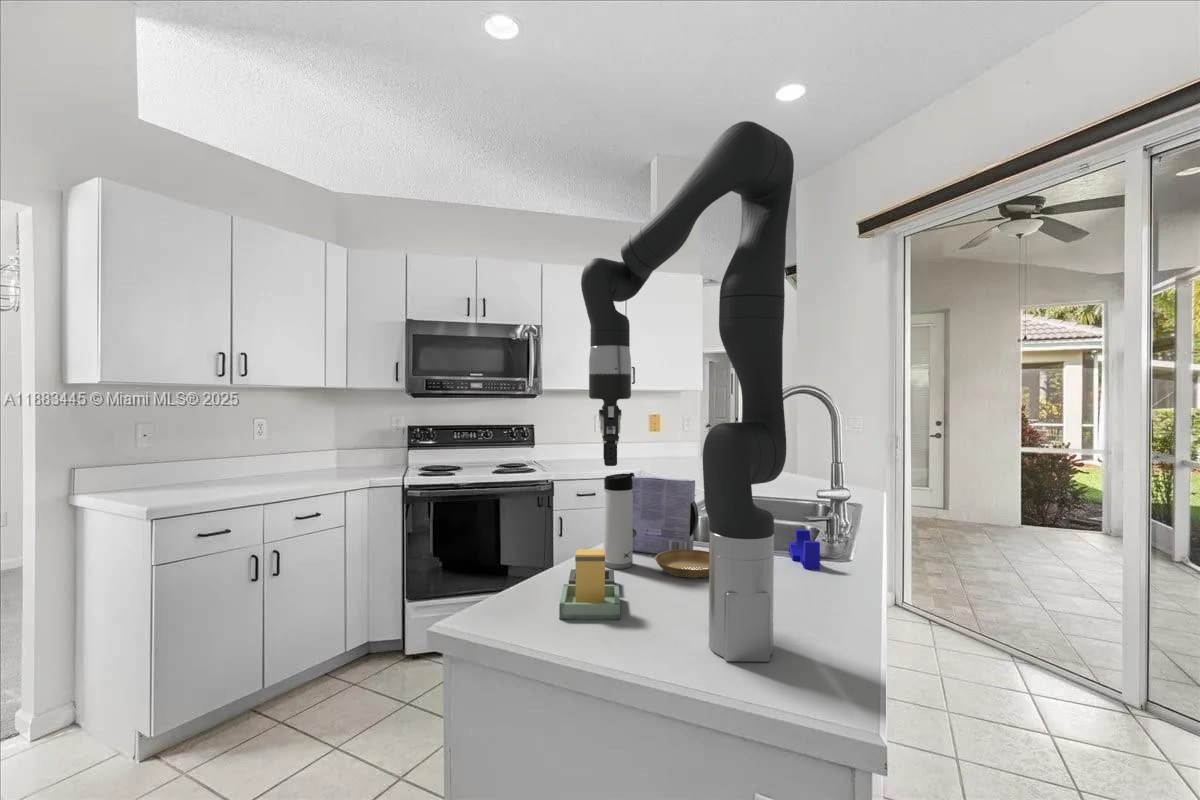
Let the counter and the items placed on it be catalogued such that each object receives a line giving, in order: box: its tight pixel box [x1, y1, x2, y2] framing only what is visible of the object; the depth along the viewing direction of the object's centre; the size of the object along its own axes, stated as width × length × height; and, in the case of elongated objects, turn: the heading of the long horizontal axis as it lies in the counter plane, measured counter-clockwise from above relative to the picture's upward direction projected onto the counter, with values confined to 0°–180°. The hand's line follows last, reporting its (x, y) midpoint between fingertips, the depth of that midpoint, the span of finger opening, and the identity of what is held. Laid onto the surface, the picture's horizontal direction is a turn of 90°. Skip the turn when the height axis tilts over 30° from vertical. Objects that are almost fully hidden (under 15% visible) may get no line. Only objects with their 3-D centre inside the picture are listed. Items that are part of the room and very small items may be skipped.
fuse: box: [574, 548, 606, 603], centre depth 102 cm, size 4×5×9 cm
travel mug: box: [603, 472, 635, 570], centre depth 127 cm, size 6×7×20 cm
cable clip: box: [788, 528, 821, 571], centre depth 130 cm, size 12×4×6 cm, turn 171°
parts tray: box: [558, 583, 621, 621], centre depth 102 cm, size 10×10×2 cm
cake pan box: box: [632, 474, 699, 555], centre depth 138 cm, size 19×5×18 cm, turn 70°
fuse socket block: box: [568, 568, 615, 585], centre depth 112 cm, size 7×8×2 cm
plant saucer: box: [654, 549, 709, 579], centre depth 124 cm, size 15×15×3 cm
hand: (610, 463), depth 105 cm, fingers open, 8 cm apart
